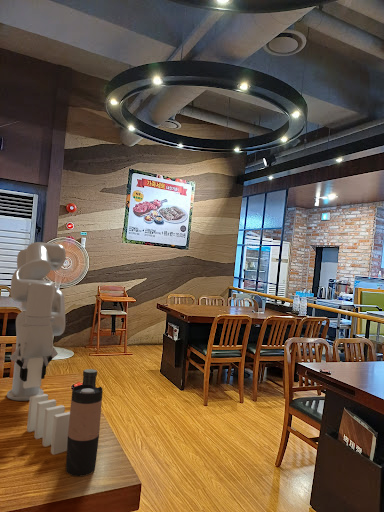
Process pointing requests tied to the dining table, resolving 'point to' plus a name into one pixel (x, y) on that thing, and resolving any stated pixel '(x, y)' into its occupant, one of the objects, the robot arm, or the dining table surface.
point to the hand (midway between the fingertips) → (32, 378)
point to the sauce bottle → (89, 377)
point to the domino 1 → (34, 373)
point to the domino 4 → (50, 423)
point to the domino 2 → (34, 410)
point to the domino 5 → (60, 433)
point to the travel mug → (83, 429)
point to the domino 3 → (42, 416)
